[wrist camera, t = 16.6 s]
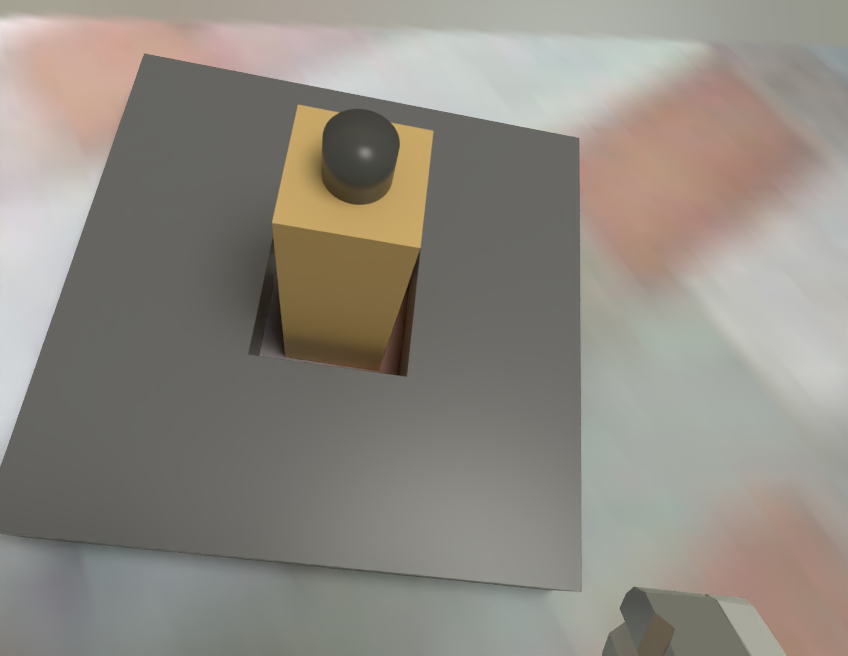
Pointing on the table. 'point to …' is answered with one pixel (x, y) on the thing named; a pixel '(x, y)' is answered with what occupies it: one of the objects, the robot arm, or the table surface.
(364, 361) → the plug
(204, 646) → the table surface
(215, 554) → the socket block
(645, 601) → the robot arm
